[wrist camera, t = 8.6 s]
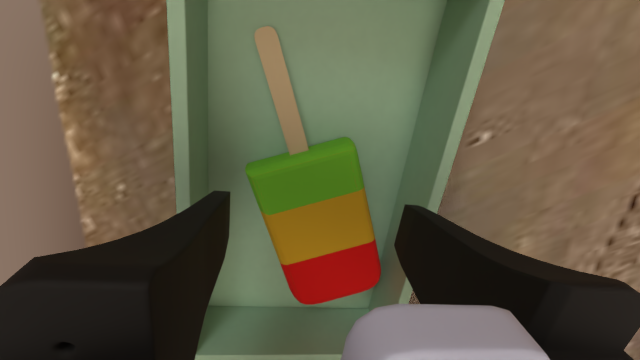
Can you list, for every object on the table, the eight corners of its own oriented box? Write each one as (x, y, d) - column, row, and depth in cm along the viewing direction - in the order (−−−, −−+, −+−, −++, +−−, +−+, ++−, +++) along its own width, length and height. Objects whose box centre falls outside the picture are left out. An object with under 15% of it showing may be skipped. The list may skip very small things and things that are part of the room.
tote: (372, 309, 22) (390, 361, 19) (200, 306, 20) (183, 363, 17) (459, -20, 14) (518, -41, 11) (195, -72, 13) (159, -118, 9)
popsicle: (295, 290, 20) (296, 313, 18) (204, 44, 14) (194, 44, 12) (378, 268, 20) (387, 289, 18) (324, 11, 14) (329, 7, 12)
